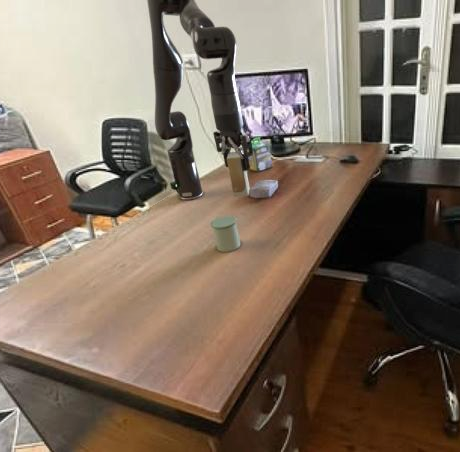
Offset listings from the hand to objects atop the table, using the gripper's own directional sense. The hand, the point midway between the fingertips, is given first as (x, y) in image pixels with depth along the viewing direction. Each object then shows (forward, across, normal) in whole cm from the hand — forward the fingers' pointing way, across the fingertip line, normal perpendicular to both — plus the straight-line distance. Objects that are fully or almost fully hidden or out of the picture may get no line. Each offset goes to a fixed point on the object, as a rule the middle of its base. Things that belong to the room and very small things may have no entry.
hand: (237, 168), depth 103 cm
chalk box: (+22, +45, -47) cm, 69 cm away
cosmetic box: (+8, 0, 0) cm, 8 cm away
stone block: (+22, +20, -26) cm, 39 cm away
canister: (+21, -1, +10) cm, 24 cm away
